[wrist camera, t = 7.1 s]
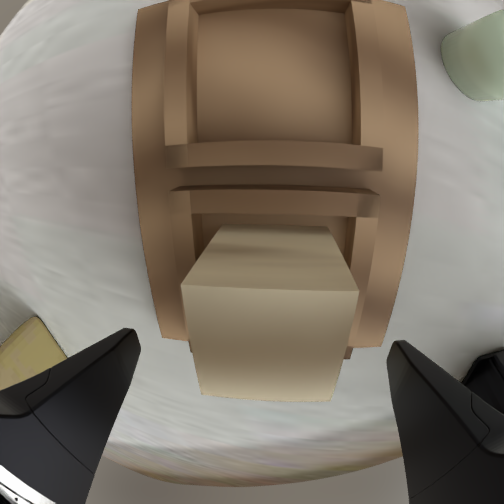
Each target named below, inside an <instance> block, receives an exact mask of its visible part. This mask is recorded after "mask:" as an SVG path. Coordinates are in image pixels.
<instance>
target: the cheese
mask: <svg viewBox="0 0 504 504" xmlns="http://www.w3.org/2000/svg"><path fill="white" fill-rule="evenodd" d="M65 359H67V357H66V356H65V354H64V353H63V351H62V350H61V349H60V347H59V346H58V344H57V343H56V341H55V340H54V338H53V337H52V335H51V334H50V332H49V331H48V330H47V328H46V327H45V325H44V324H43V322H42V321H41V320H40V319H39V318H37V317H32V318H30V319H29V320H27V321H26V322H25V323H24V324H22V325H21V326H20V327H19V328H18V329H17V330H15V331H14V332H13V333H12V334H11V335H10V336H9V337H8V339H7V340H6V341H5V342H4V343H3V344H2V345H1V346H0V390H2V389H5V388H7V387H10V386H12V385H14V384H17V383H19V382H22V381H24V380H26V379H28V378H31V377H33V376H35V375H37V374H39V373H41V372H43V371H45V370H47V369H48V368H52V366H54V365H56V364H58V363H60V362H62V361H64V360H65Z"/></svg>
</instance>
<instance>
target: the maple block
mask: <svg viewBox="0 0 504 504" xmlns="http://www.w3.org/2000/svg"><path fill="white" fill-rule="evenodd" d="M181 290H182V296H183V303H184V309H185V315H186V321H187V327H188V332H189V338H190V343H191V348H192V353H193V358H194V363H195V368H196V373H197V377H198V382H199V386H200V391H201V394H202V395H209V396H217V397H226V398H236V399H247V400H261V401H284V402H323V401H331V398H332V395H333V392H334V389H335V386H336V383H337V379H338V376H339V373H340V369H341V366H342V362H343V359H344V355H345V351H346V348H347V344H348V340H349V336H350V332H351V328H352V323H353V319H354V314H355V310H356V305H357V300H358V295H359V289H358V287H357V285H356V283H355V281H354V278H353V276H352V274H351V272H350V270H349V268H348V266H347V264H346V262H345V260H344V258H343V256H342V254H341V252H340V250H339V248H338V246H337V244H336V242H335V240H334V238H333V236H332V234H331V232H330V230H329V228H328V227H324V226H297V225H261V224H222V226H221V227H220V229H219V230H218V231H217V233H216V234H215V236H214V237H213V238H212V240H211V241H210V243H209V244H208V246H207V247H206V248H205V250H204V251H203V253H202V254H201V256H200V257H199V258H198V260H197V261H196V263H195V264H194V266H193V267H192V269H191V270H190V272H189V273H188V274H187V276H186V277H185V279H184V280H183V282H182V283H181Z"/></svg>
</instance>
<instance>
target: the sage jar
mask: <svg viewBox="0 0 504 504" xmlns="http://www.w3.org/2000/svg"><path fill="white" fill-rule="evenodd" d="M441 55H442V60H443V63H444V66H445V69H446V71H447V73H448V75H449V76H450V78H451V80H452V81H453V83H454V84H455V85H456V87H457V88H458V89H459V90H460V91H461V92H462V93H463V94H465V95H466V96H467V97H469V98H470V99H472V100H475V101H493V100H504V10H499V11H497V12H495V13H492V14H490V15H488V16H485V17H483V18H481V19H479V20H477V21H475V22H473V23H470V24H468V25H466V26H464V27H462V28H460V29H458V30H456V31H454V32H452V33H451V34H449V35H447V36H446V37H445V38H444V39H443V41H442V44H441Z"/></svg>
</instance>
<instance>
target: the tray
mask: <svg viewBox="0 0 504 504" xmlns="http://www.w3.org/2000/svg"><path fill="white" fill-rule="evenodd" d="M132 141H133V160H134V174H135V185H136V196H137V205H138V213H139V221H140V228H141V235H142V242H143V248H144V255H145V260H146V266H147V272H148V277H149V282H150V287H151V292H152V297H153V301H154V306H155V310H156V315H157V319H158V323H159V327H160V331H161V335H162V338H168V339H175V340H183V341H189V346H190V351H191V352H192V348H191V343H190V338H189V332H188V327H187V321H186V315H185V309H184V303H183V296H182V290H181V283H182V282H183V280H184V279H185V277H186V276H187V274H188V273H189V272H190V270H191V269H192V267H193V266H194V264H195V263H196V261H197V260H198V258H199V257H200V256H201V254H202V253H203V251H204V250H205V248H206V247H207V246H208V244H209V243H210V241H211V240H212V238H213V237H214V236H215V234H216V233H217V231H218V230H219V229H220V227H221V226H222V224H261V225H297V226H324V227H328V228H329V230H330V232H331V234H332V236H333V238H334V240H335V242H336V244H337V246H338V248H339V250H340V252H341V254H342V256H343V258H344V260H345V262H346V264H347V266H348V268H349V270H350V272H351V274H352V276H353V278H354V281H355V283H356V285H357V287H358V289H359V295H358V300H357V305H356V310H355V314H354V319H353V323H352V328H351V332H350V336H349V340H348V344H347V348H346V351H345V355H344V359H350V357H351V353H352V350H353V348H363V347H381V345H382V342H383V339H384V336H385V333H386V330H387V327H388V323H389V320H390V317H391V313H392V310H393V306H394V302H395V299H396V295H397V291H398V287H399V283H400V279H401V274H402V270H403V265H404V260H405V255H406V250H407V245H408V239H409V233H410V227H411V220H412V213H413V205H414V196H415V186H416V175H417V159H418V97H417V81H416V70H415V61H414V53H413V46H412V40H411V34H410V28H409V23H408V18H407V13H406V9H405V7H404V6H401V5H398V4H394V3H390V2H387V1H383V0H169V1H166V2H162V3H158V4H155V5H151V6H148V7H144V8H141V9H138V13H137V21H136V30H135V41H134V53H133V70H132Z"/></svg>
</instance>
